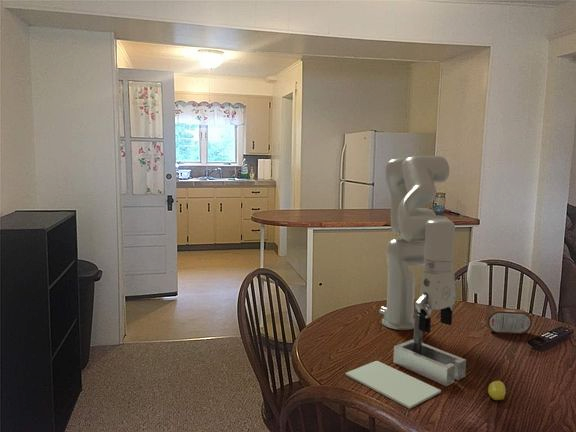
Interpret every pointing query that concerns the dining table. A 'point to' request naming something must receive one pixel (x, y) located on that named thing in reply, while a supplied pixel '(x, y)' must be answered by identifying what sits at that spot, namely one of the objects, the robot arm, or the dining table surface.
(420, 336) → the stand
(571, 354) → the dining table surface
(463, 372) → the c link
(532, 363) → the dining table surface
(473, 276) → the cup
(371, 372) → the mat
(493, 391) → the lemon
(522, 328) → the tin
